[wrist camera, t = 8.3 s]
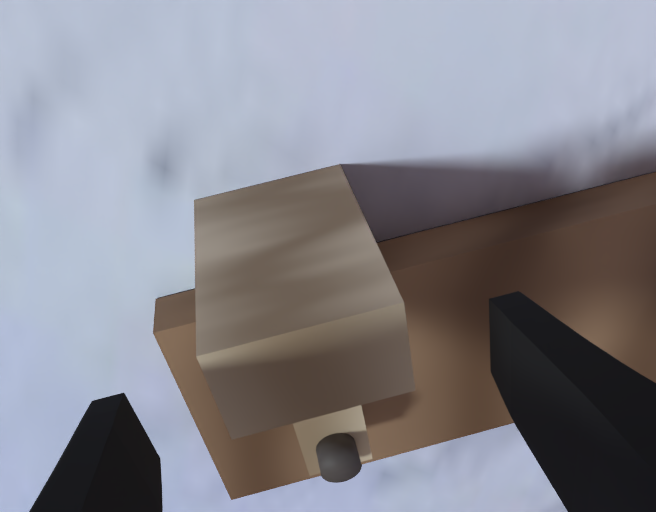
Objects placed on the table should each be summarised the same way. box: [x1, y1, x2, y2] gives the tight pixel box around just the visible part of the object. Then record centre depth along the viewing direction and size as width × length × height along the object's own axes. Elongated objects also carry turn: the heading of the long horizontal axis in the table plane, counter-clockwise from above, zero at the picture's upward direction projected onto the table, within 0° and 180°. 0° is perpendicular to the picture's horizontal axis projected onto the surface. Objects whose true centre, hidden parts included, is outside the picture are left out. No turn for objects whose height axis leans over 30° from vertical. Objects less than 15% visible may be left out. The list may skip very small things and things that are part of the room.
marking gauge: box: [194, 164, 415, 482], centre depth 16 cm, size 4×8×6 cm, turn 9°
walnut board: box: [153, 172, 656, 500], centre depth 20 cm, size 20×8×2 cm, turn 99°
